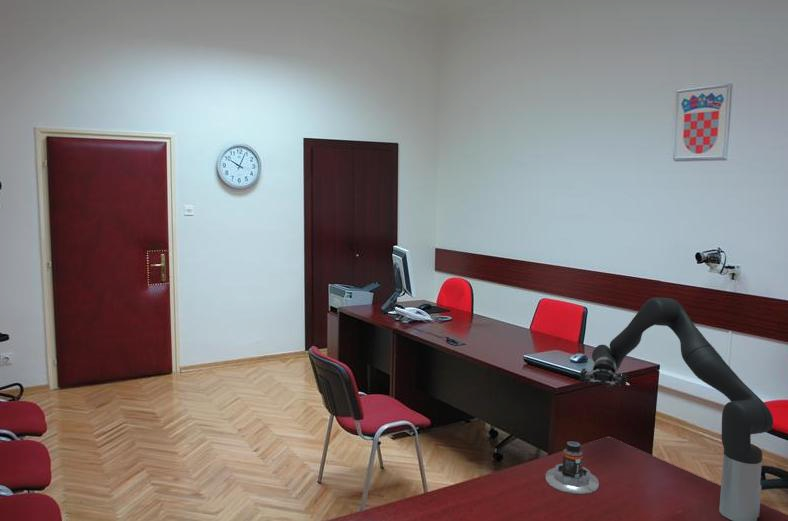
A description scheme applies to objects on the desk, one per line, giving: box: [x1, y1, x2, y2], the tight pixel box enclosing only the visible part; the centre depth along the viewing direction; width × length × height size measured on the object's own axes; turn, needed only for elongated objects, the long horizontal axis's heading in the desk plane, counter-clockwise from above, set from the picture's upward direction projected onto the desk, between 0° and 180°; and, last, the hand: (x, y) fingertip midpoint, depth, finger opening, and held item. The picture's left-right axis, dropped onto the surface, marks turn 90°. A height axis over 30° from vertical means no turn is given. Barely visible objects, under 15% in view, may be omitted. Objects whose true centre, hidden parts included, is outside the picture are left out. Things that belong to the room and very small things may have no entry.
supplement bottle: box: [562, 440, 584, 478], centre depth 182 cm, size 6×6×11 cm
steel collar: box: [545, 463, 600, 495], centre depth 182 cm, size 16×16×4 cm
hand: (602, 383), depth 185 cm, fingers open, 8 cm apart
